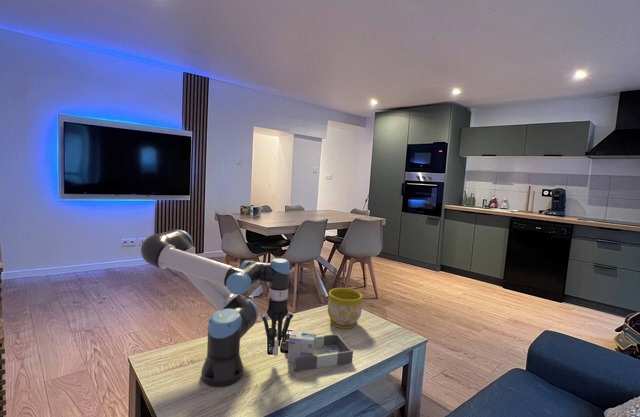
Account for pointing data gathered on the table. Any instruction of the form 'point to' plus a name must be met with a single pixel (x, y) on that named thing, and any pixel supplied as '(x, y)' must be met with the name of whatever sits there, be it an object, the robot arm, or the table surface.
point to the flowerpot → (344, 307)
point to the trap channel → (325, 359)
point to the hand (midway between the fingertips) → (275, 353)
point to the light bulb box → (301, 345)
